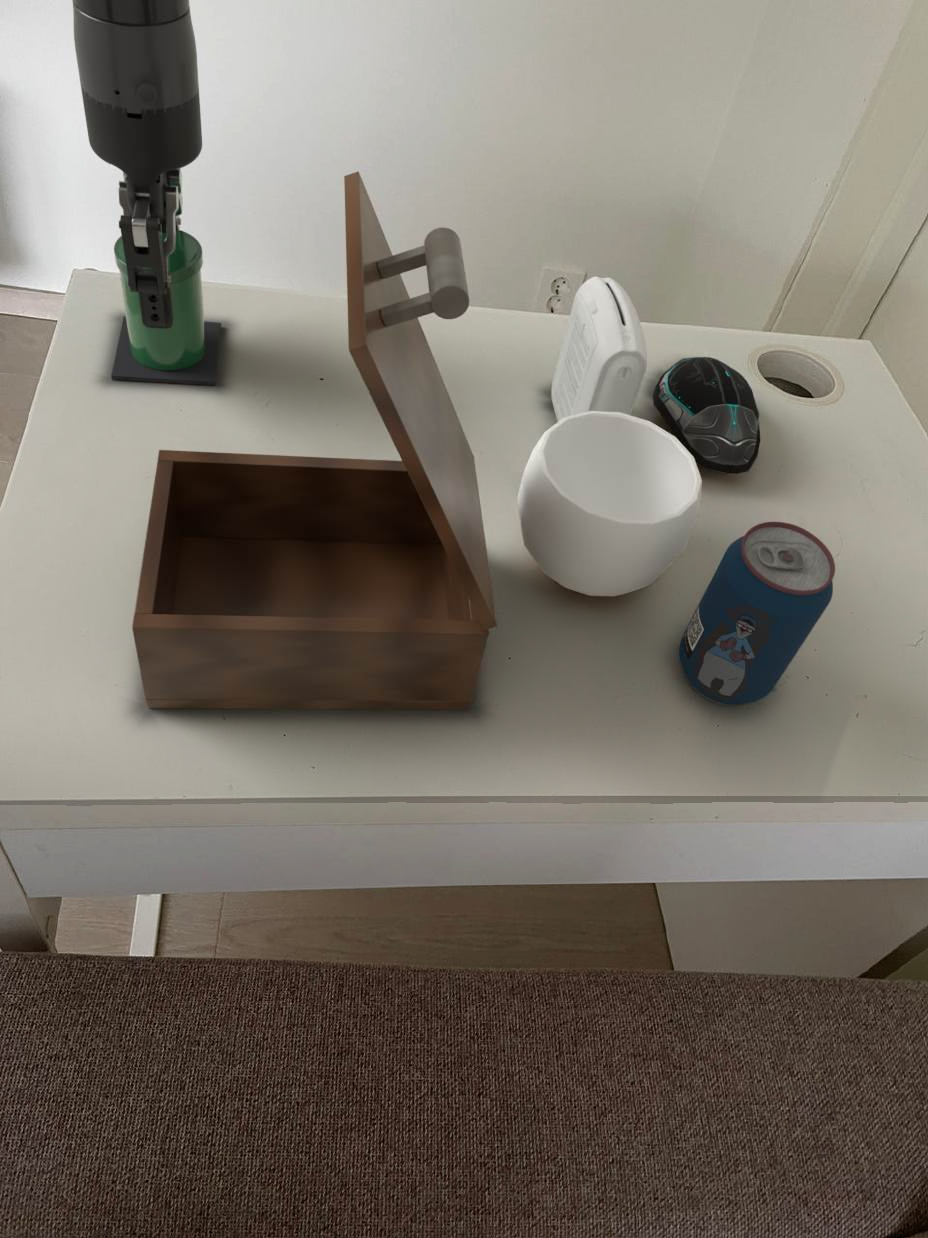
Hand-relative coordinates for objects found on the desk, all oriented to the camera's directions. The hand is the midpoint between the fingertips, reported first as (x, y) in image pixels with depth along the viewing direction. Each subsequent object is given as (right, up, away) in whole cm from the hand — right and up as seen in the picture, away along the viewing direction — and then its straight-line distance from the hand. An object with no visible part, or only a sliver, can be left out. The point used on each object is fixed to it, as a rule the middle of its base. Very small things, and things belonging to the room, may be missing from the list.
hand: (162, 298), depth 79 cm
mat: (-1, -3, +4) cm, 5 cm away
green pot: (-1, -3, +4) cm, 5 cm away
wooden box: (+14, -25, -11) cm, 31 cm away
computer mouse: (+44, -9, +8) cm, 46 cm away
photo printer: (+33, -9, +5) cm, 35 cm away
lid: (+21, -14, -24) cm, 35 cm away
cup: (+33, -21, -4) cm, 39 cm away
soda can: (+42, -29, -9) cm, 51 cm away
